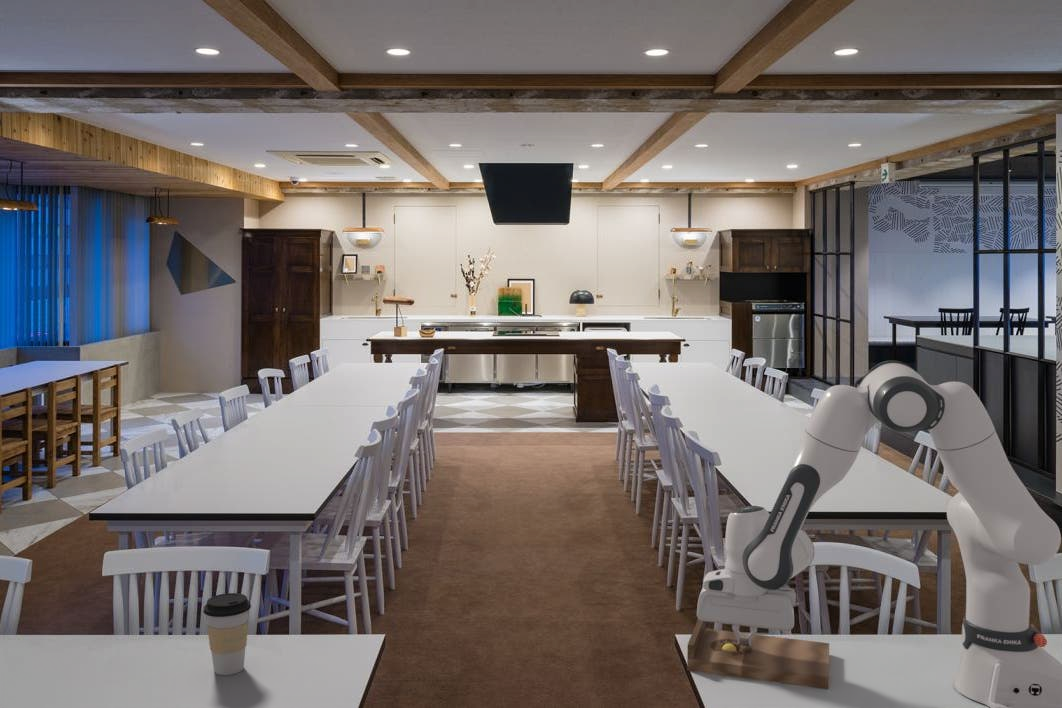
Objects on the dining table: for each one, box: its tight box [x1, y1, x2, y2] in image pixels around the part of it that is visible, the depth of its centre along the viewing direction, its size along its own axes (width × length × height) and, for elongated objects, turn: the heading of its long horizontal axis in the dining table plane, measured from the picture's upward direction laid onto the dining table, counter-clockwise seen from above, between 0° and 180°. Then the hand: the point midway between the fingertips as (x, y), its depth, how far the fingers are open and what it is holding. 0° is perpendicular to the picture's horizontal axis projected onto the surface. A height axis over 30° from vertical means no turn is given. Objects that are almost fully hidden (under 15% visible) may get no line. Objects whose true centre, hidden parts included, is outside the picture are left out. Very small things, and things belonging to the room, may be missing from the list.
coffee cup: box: [202, 592, 252, 676], centre depth 189 cm, size 9×9×15 cm
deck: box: [686, 617, 830, 690], centre depth 193 cm, size 28×18×6 cm, turn 71°
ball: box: [722, 643, 737, 651], centre depth 195 cm, size 3×3×3 cm
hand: (744, 644), depth 194 cm, fingers closed
